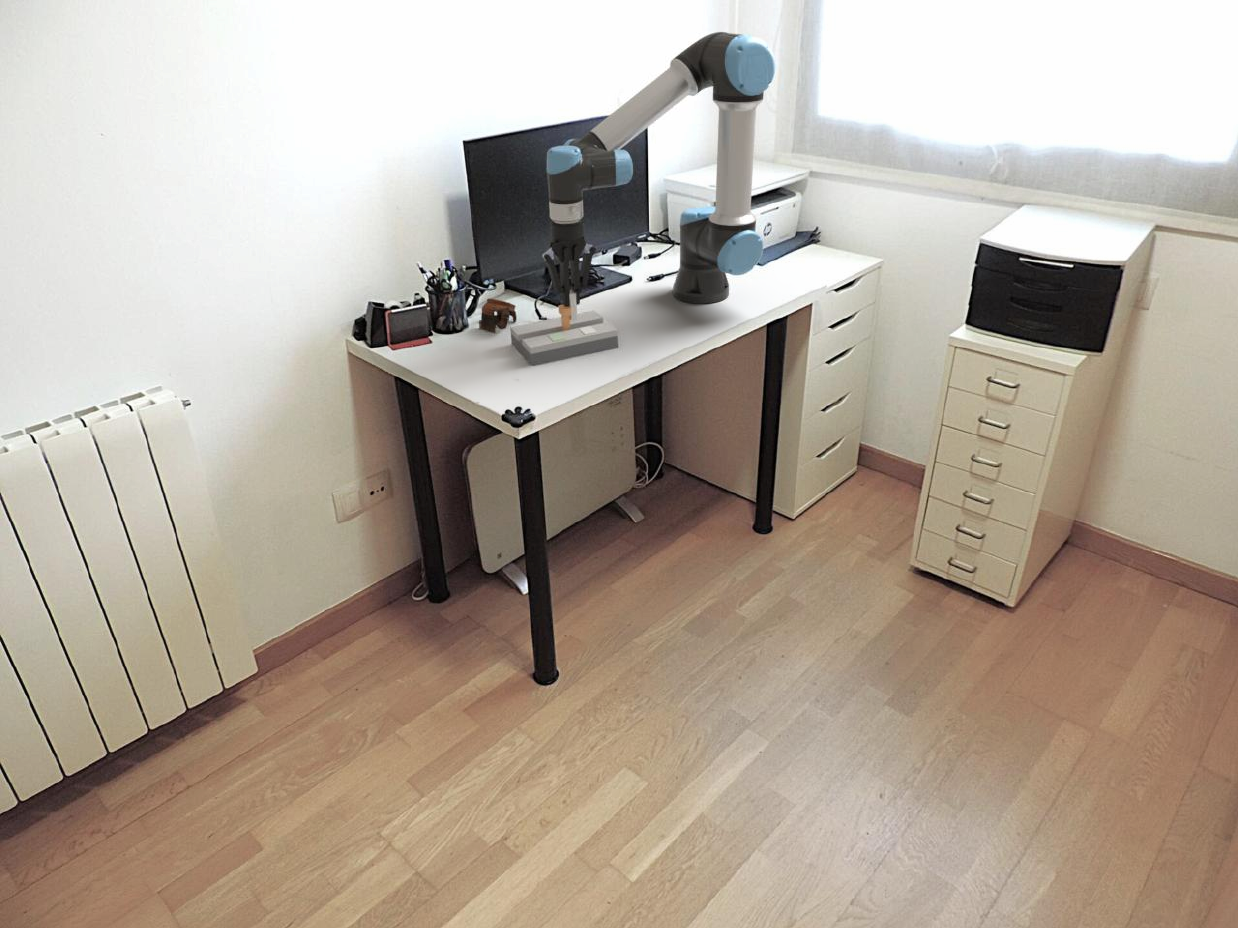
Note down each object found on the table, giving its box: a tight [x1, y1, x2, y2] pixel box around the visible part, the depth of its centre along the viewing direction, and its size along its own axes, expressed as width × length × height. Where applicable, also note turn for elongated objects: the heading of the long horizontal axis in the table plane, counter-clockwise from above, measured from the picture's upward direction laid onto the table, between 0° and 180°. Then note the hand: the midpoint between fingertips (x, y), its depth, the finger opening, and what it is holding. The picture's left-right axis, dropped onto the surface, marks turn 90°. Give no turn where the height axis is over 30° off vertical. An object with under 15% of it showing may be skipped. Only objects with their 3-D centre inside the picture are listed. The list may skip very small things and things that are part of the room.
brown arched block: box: [478, 298, 518, 334], centre depth 225 cm, size 12×10×8 cm
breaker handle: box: [557, 304, 571, 331], centre depth 212 cm, size 2×3×7 cm, turn 25°
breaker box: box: [509, 310, 619, 367], centre depth 214 cm, size 22×14×5 cm, turn 115°
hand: (572, 318), depth 212 cm, fingers closed
